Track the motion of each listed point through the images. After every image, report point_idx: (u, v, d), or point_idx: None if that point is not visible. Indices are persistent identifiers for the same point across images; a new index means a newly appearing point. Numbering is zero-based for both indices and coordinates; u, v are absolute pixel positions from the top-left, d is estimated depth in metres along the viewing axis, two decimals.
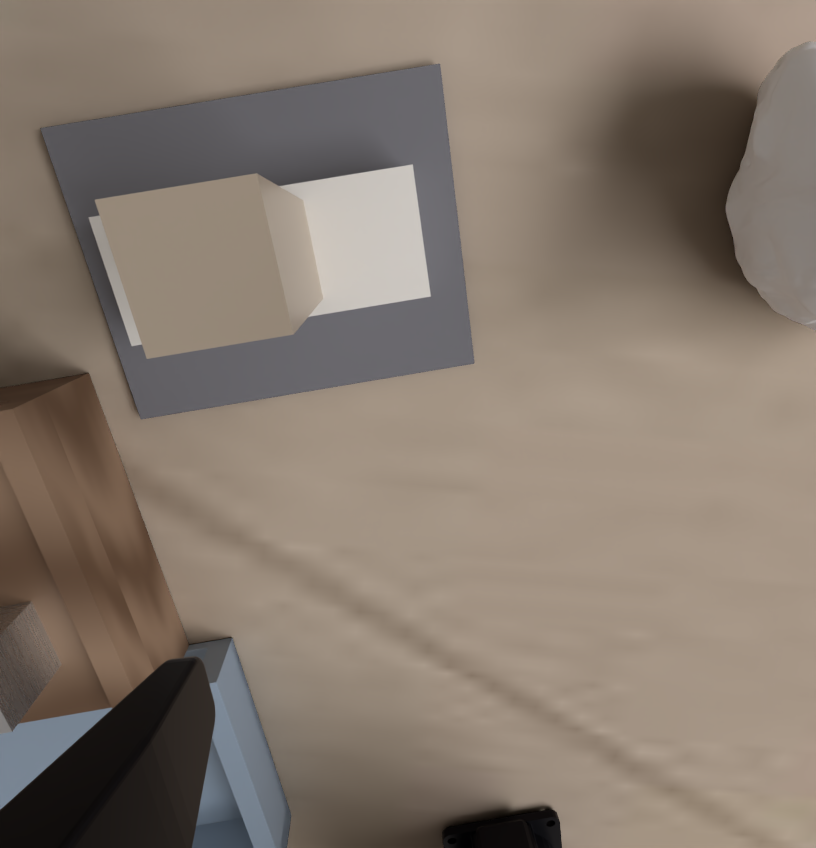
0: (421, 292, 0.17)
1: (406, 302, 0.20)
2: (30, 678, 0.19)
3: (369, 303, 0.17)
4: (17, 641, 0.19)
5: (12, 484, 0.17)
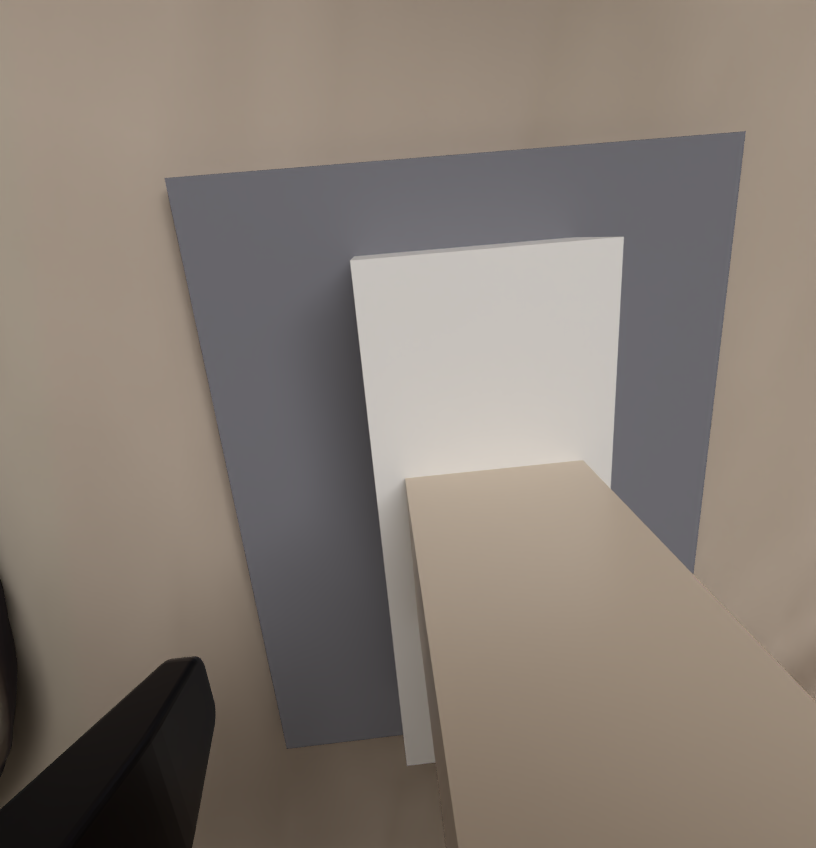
0: (611, 258, 0.08)
1: None
2: None
3: (610, 373, 0.08)
4: None
5: None
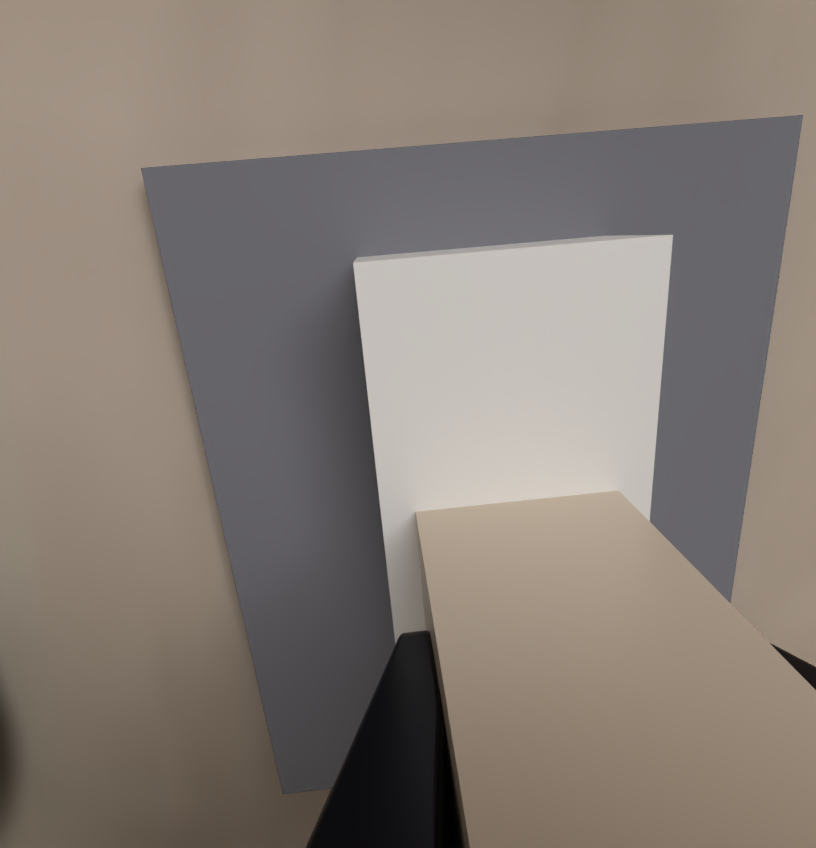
0: (658, 260, 0.07)
1: None
2: None
3: (653, 392, 0.07)
4: None
5: None
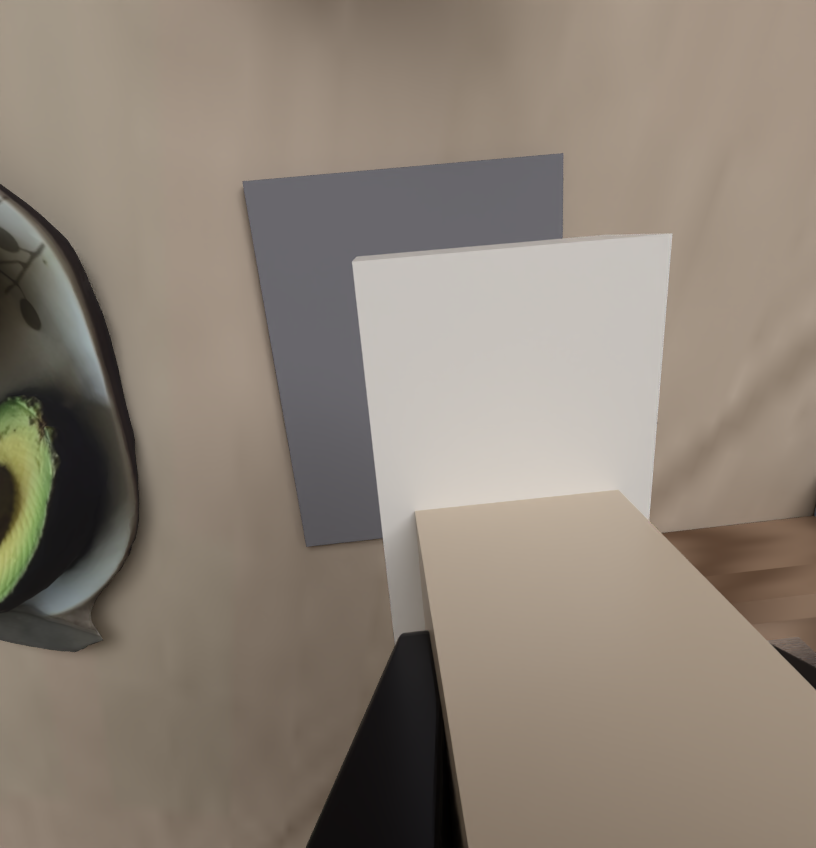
0: (657, 259, 0.07)
1: (480, 236, 0.17)
2: None
3: (652, 391, 0.07)
4: None
5: None
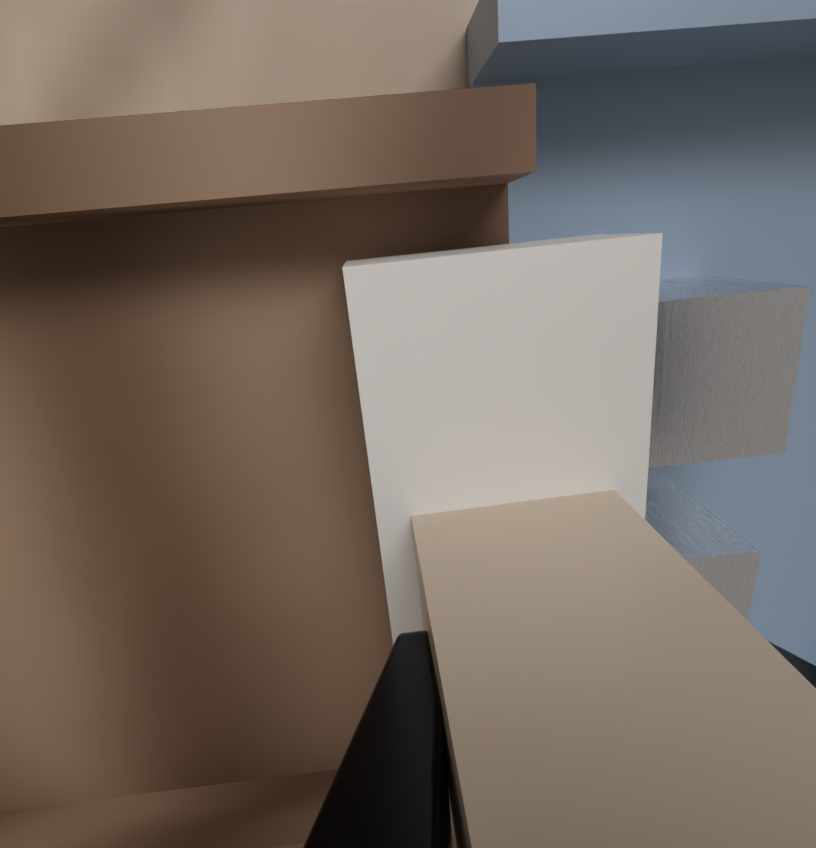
0: (648, 258, 0.07)
1: None
2: None
3: (646, 391, 0.07)
4: (685, 292, 0.09)
5: None
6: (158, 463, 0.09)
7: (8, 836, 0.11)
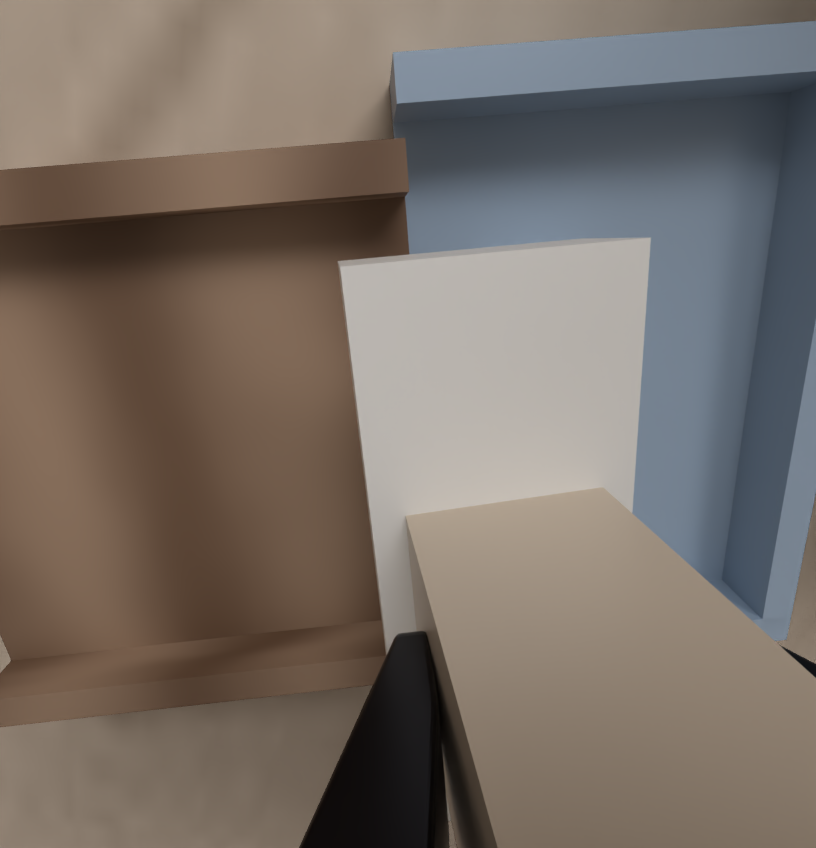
0: (637, 262, 0.07)
1: None
2: None
3: (634, 390, 0.07)
4: None
5: None
6: (170, 389, 0.14)
7: (59, 669, 0.16)
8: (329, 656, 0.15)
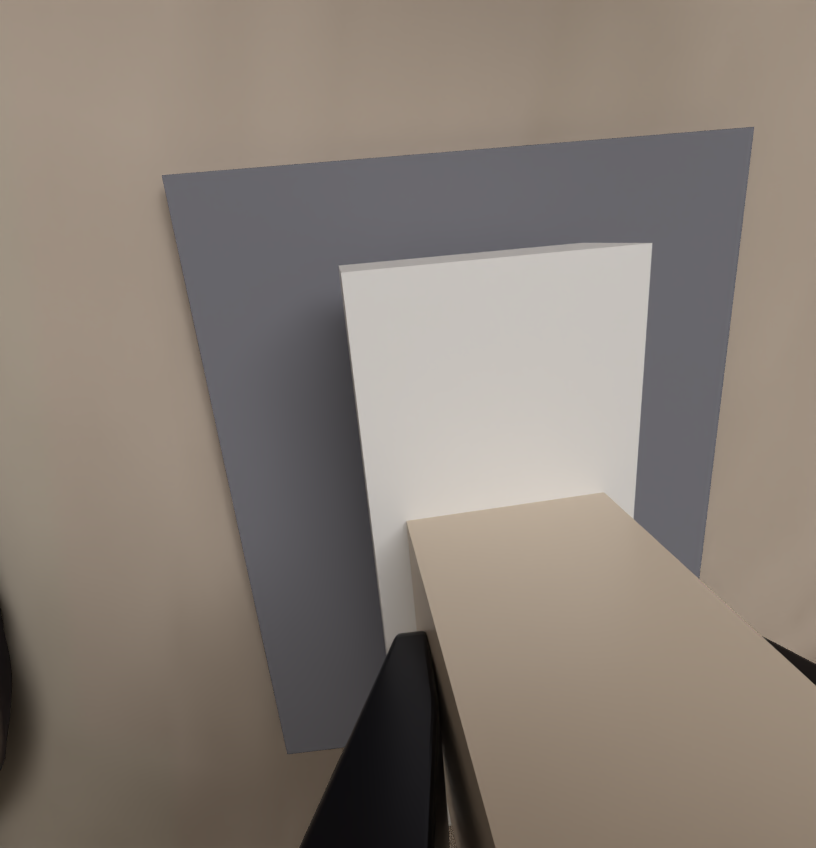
0: (638, 267, 0.07)
1: None
2: None
3: (635, 396, 0.07)
4: None
5: None
6: None
7: None
8: None
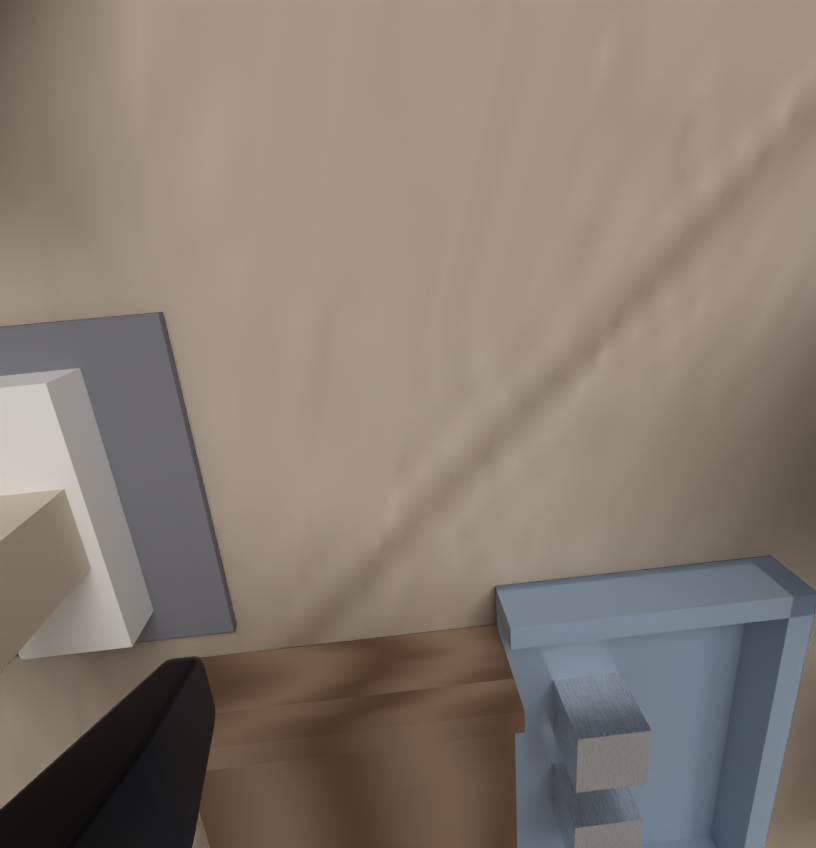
0: (41, 393, 0.16)
1: (94, 386, 0.18)
2: (592, 690, 0.23)
3: (62, 446, 0.17)
4: (602, 719, 0.22)
5: (228, 766, 0.19)
6: (361, 792, 0.22)
7: None
8: None
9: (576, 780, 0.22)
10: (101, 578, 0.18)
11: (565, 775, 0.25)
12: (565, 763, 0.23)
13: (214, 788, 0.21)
